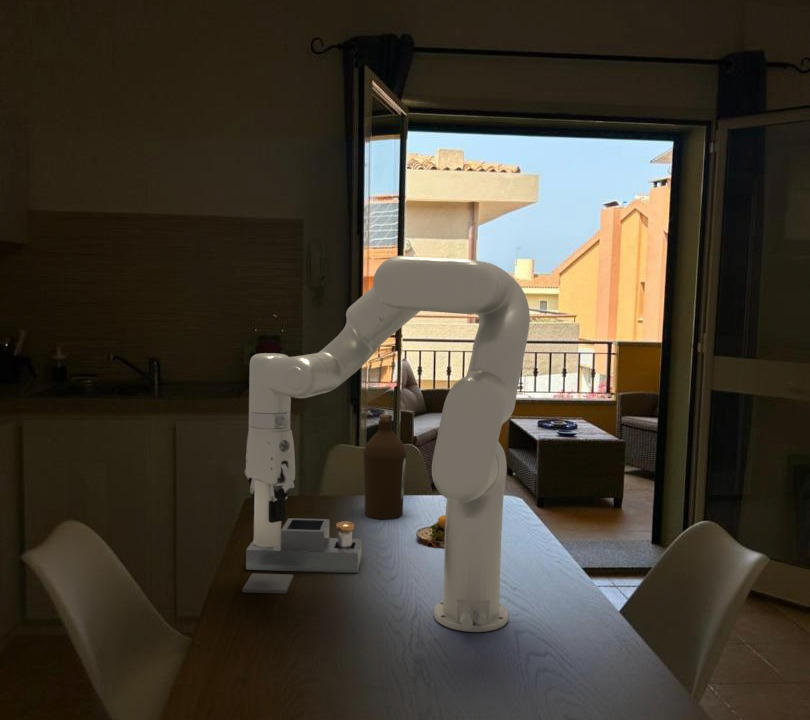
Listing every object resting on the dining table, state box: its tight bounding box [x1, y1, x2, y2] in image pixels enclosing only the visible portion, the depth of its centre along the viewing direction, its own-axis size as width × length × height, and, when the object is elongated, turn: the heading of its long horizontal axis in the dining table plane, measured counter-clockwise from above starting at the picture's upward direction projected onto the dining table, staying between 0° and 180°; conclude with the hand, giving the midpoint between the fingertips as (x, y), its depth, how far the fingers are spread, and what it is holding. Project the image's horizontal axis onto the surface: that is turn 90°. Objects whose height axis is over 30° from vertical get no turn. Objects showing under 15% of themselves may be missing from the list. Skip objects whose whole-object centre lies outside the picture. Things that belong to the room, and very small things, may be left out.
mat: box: [241, 572, 295, 595], centre depth 143 cm, size 8×8×1 cm
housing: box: [245, 517, 363, 574], centre depth 155 cm, size 22×9×8 cm, turn 89°
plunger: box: [335, 520, 355, 549], centre depth 155 cm, size 4×4×8 cm
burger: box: [415, 514, 446, 549], centre depth 172 cm, size 12×12×8 cm
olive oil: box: [363, 413, 407, 520], centre depth 191 cm, size 11×11×25 cm
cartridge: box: [253, 479, 282, 547], centre depth 142 cm, size 5×5×13 cm
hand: (268, 516), depth 142 cm, fingers closed on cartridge, 5 cm apart
